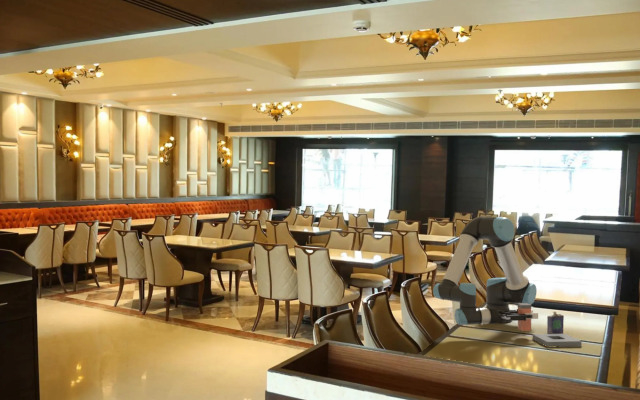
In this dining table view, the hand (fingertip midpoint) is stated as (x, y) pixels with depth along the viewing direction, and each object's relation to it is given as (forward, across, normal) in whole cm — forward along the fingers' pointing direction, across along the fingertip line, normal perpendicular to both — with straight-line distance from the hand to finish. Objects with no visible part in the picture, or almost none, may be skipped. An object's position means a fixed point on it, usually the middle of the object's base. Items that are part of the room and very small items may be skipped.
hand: (535, 314), depth 266 cm
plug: (-5, 0, -7) cm, 9 cm away
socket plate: (+5, +11, -11) cm, 16 cm away
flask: (+14, -7, -12) cm, 19 cm away
